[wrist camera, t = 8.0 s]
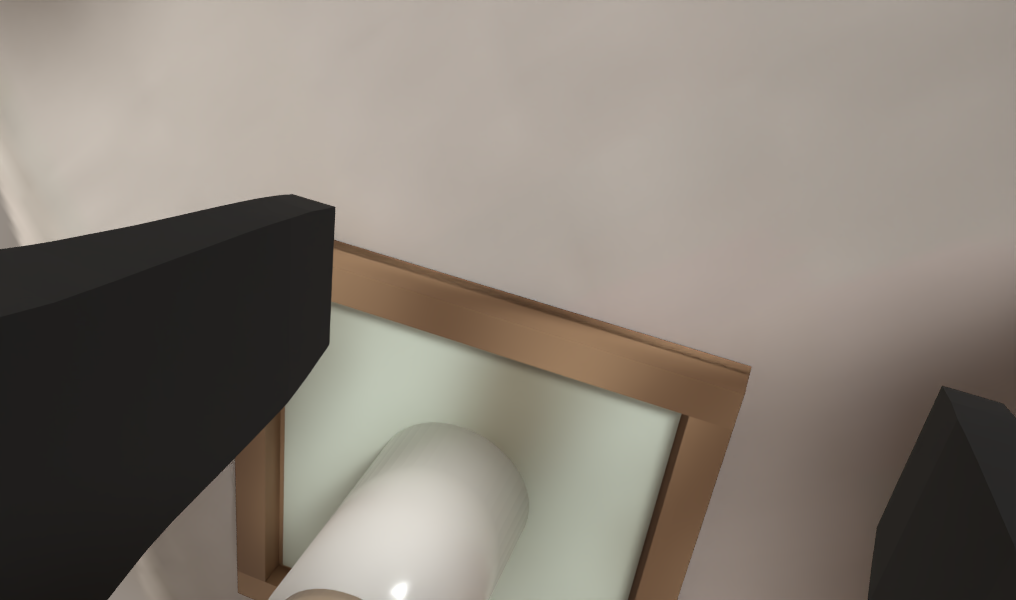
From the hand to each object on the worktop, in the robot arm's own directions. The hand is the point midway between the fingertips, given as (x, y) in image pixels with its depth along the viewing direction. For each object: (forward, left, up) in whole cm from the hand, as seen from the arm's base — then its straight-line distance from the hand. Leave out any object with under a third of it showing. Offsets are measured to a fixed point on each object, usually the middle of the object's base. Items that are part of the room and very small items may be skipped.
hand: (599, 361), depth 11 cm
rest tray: (+4, +12, -10) cm, 16 cm away
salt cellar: (+4, +12, -9) cm, 16 cm away
